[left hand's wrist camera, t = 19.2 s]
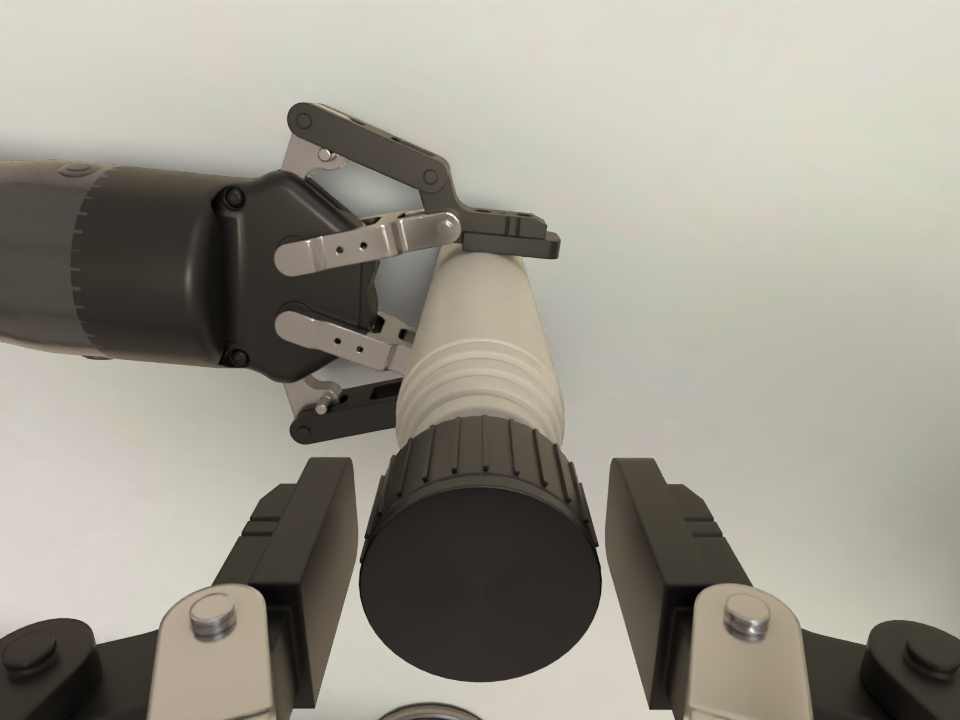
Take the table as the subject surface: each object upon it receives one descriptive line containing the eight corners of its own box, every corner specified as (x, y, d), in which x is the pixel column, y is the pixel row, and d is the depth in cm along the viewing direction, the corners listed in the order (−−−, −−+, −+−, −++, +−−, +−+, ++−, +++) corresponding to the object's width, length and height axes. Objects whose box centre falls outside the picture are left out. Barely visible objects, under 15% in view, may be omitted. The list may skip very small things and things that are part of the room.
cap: (376, 406, 12) (351, 477, 9) (593, 414, 12) (619, 487, 9) (379, 583, 13) (357, 681, 11) (572, 590, 13) (592, 689, 11)
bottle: (518, 302, 33) (593, 668, 11) (437, 299, 33) (357, 660, 11) (523, 221, 32) (620, 460, 10) (439, 218, 32) (350, 451, 10)
